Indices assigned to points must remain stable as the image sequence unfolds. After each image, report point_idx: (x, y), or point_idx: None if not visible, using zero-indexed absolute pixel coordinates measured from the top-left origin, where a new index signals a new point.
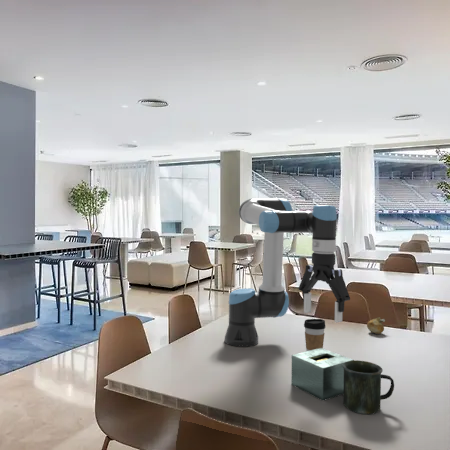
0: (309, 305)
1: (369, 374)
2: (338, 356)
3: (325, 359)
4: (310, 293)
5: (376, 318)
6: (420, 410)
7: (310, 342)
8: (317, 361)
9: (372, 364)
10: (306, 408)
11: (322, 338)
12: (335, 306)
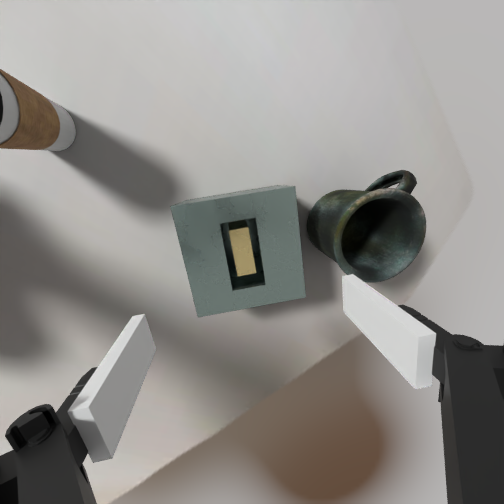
0: (135, 350)
1: (417, 253)
2: (255, 208)
3: (237, 238)
4: (93, 415)
5: None
6: (400, 125)
7: (30, 145)
8: (241, 266)
9: (380, 196)
10: (297, 309)
11: (26, 94)
12: (395, 362)
